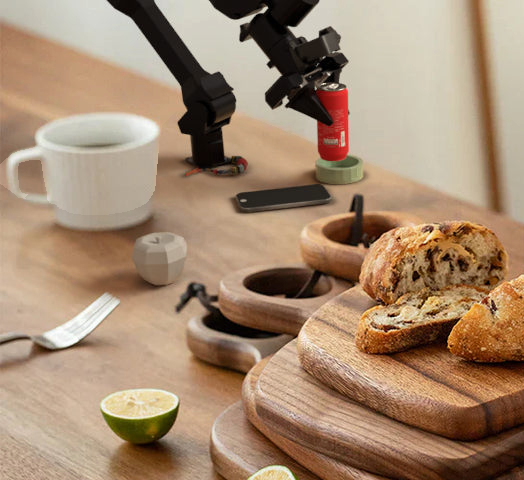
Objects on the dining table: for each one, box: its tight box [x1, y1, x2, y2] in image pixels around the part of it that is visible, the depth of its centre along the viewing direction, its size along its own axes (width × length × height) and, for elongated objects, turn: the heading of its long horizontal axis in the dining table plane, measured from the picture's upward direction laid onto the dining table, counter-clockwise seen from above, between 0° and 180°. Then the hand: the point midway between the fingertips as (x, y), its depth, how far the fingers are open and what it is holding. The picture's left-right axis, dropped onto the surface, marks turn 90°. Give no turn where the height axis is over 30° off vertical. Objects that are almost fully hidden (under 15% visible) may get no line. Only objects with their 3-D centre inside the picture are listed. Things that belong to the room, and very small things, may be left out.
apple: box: [131, 231, 188, 286], centre depth 148 cm, size 8×8×7 cm
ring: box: [314, 154, 364, 185], centre depth 186 cm, size 8×8×3 cm
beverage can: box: [316, 82, 350, 161], centre depth 178 cm, size 5×5×12 cm
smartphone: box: [235, 183, 333, 213], centre depth 176 cm, size 8×1×15 cm
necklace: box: [184, 155, 249, 177], centre depth 190 cm, size 8×11×2 cm
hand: (339, 120), depth 177 cm, fingers closed on beverage can, 5 cm apart
